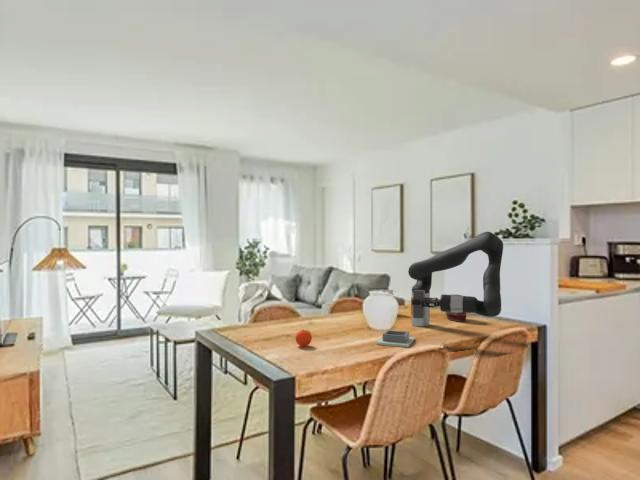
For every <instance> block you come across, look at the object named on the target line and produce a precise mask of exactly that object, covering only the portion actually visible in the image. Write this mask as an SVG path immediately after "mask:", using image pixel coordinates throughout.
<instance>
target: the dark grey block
mask: <svg viewBox="0 0 640 480" xmlns="http://www.w3.org/2000/svg"><path fill="white" fill-rule="evenodd" d="M412 300H425V290H414V291H413V297H412V296H411V297H410V316H412V315H413V318H424V317H425V307H422V306H420V305H412ZM424 304H425V302H424Z"/></svg>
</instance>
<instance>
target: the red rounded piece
mask: <svg viewBox="0 0 640 480" xmlns="http://www.w3.org/2000/svg"><path fill="white" fill-rule="evenodd" d="M295 342H296V344H297V345H299V346H300V347H307V346H309V345H310V344H311V342H312V334H311V331H310V330H308V329H301V330H299V331H298V332H297V333H296V335H295Z"/></svg>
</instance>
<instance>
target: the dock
mask: <svg viewBox="0 0 640 480" xmlns="http://www.w3.org/2000/svg"><path fill="white" fill-rule="evenodd" d="M415 340H416V337H415V336H410V331H402V330H390V329H389V330H388V329H387V330H386V331H384V332H383V333H382V337H380V338H379V339H378V340H377V341H376V342H375V343H376V344H375V345H376V346H387V347H397V348H398V347H399V348H409V347H411V345H412V344H413V342H414V341H415Z"/></svg>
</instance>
